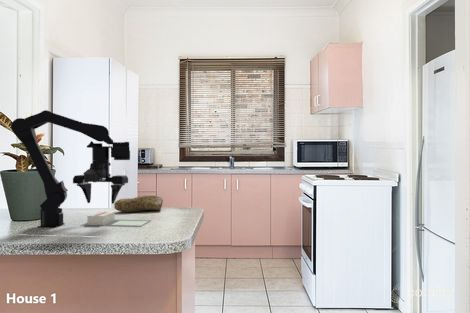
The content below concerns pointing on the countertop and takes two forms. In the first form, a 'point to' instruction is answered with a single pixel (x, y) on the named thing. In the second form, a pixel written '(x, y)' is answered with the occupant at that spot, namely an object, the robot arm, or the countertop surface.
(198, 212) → the countertop surface
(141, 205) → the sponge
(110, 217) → the card box
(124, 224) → the mat
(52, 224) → the robot arm
